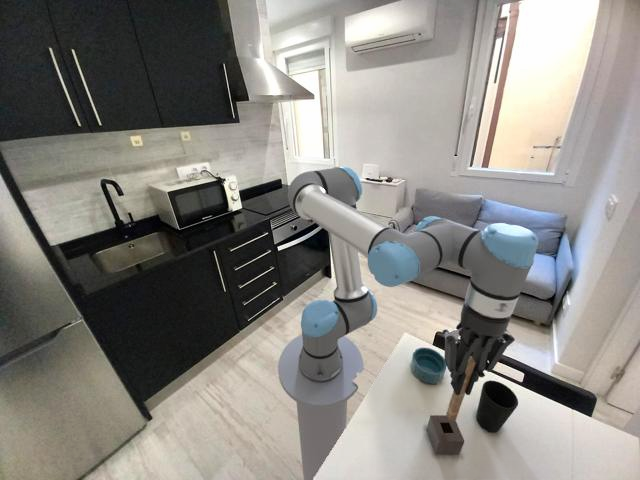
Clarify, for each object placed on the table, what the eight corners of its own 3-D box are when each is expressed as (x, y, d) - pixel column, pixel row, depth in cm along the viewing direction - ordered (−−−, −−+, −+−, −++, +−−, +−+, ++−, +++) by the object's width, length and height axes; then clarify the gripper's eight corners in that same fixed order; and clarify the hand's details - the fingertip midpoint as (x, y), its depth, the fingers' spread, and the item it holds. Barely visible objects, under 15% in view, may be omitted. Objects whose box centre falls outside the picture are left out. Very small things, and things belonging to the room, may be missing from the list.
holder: (435, 454, 64) (439, 441, 62) (426, 428, 70) (430, 415, 67) (459, 454, 64) (464, 441, 61) (448, 428, 69) (453, 415, 67)
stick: (449, 420, 61) (468, 362, 53) (446, 413, 63) (464, 356, 54) (455, 420, 61) (475, 362, 53) (452, 413, 63) (471, 356, 54)
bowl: (404, 370, 86) (406, 359, 83) (419, 352, 92) (422, 342, 90) (434, 391, 79) (437, 380, 77) (448, 371, 85) (451, 360, 83)
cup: (479, 402, 76) (490, 375, 70) (508, 424, 70) (523, 396, 65) (466, 419, 71) (477, 391, 66) (496, 444, 66) (510, 416, 61)
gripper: (457, 321, 44) (433, 406, 54) (543, 320, 44) (503, 405, 54) (439, 294, 51) (421, 374, 61) (513, 293, 51) (483, 373, 61)
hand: (460, 389), depth 58 cm, fingers closed on stick, 2 cm apart
